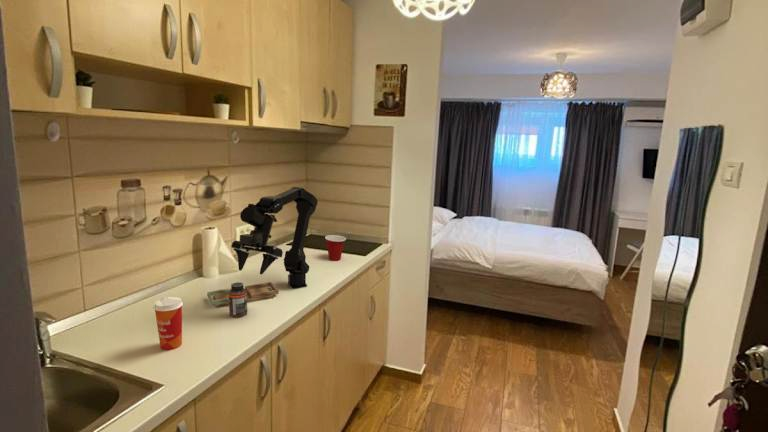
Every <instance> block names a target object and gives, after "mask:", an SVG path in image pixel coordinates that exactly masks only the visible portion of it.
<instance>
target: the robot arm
mask: <svg viewBox="0 0 768 432" xmlns="http://www.w3.org/2000/svg"><path fill="white" fill-rule="evenodd" d="M291 202H294V203H295V204H296V206H295V208H296V212H297V213H298V214H297V220H296V224H295V229H294V235H293V239H292V242H291V243H292V245H291V248H290V249H289V250H286V251H285V252H283V249H281V248H279V247H277V246H273V245H268V241H269V239H272V235H271V230H272V227H273V223H278V220H277V218H276V215H277V214H278V213H280V212H281V211H282V210H283V208H284V206H285V205H287V204H289V203H291ZM317 206H318V199H317V197H316V196H315V195H314V194H312V193H310V192H309V191H307V190H306V189H305V188H304V187H300V186H292V187H291V188H289V189H288V190H285V191H283V192H281V193H278V194H276V195H268V196H262V197H260V199H259V201H258V202H257V203H256V204H254V203H248V205H247V206H246V207H244V208H243V210H242V211H241V212H240V220H241V221H242V222H244V223H246V224H248V225H250V226H252V227H254V229H251V230H250V232H249V233H246V234H239V240H233V241H232V243H231V244H230V245H231V246H230V247H231V248H232V249H233V251H235V253H236V254H237V263H238V266H237V267H238V271H243V269H244V266H245V264H246V262H247V259H248V257H249V255H250V253H249V251H253V252H259V253H262V263H261V266H260V269H259V274H260V275H263V274H264V273H265V272H266V271H267V270H268V268H269V267H270V266H271V265H272V264H273V262H274V263H275V261H276V260H278V259H279V258H282V257H283V253H284V258H283V266H284V269H285V272H288V275H287V285H288V286H289V287H290V288H292V289H299V288H304V287H307V286H308V285H307V283H306V279H307V278H306V277H307V275H306V274H308V272H309V271H310V265H309V264H308V263H307V262H306V258H307V256H306V254H305V242H306V240H307V239H306V238H307V234H308V228H309V223H310V218H311V216H312V215H313V214H314V212H315V211H316V209H317ZM275 214H276V215H275Z"/></svg>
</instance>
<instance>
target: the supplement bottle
mask: <svg viewBox="0 0 768 432" xmlns="http://www.w3.org/2000/svg"><path fill="white" fill-rule="evenodd" d="M230 288H231V290H230V291H229V306H228V308H229V309H228V311H229V316H230V317H233V318H241V317H244V316H246V315H247V314H248V303H247V291H246V289H245V286H244V283H243V282H238V281H237V282H233V283H231V286H230Z"/></svg>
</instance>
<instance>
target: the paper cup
mask: <svg viewBox="0 0 768 432" xmlns="http://www.w3.org/2000/svg"><path fill="white" fill-rule="evenodd" d="M183 305H184V303H183V301H182V299H181V298H180V297H178V296H177V297H176V296H169V297H165V298H161V299H160V300H159V299H157V300H156V301H155V303H154V306H153V310H154V312H155V320H156V321H155V322H156V325H157V332H158V339H159V340H158V341H159V346H160V349H161V350H164V351H171V350H176V349H178V348H180V347H181V346H182V343H183V341H182V340H183V313H182V312H183Z"/></svg>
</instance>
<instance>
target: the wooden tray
mask: <svg viewBox="0 0 768 432" xmlns="http://www.w3.org/2000/svg"><path fill="white" fill-rule="evenodd" d="M267 287H269V288H270V289H271V290H270V289H268V288H267ZM244 289H246V291H247V304H248V303H252V302H257V301H265V300H270V299H273V298H274V296H275V295H276V296H277V295H279V289H278V288H277V287H276V286H275V285H274V283H273V282H272V281H267V282H263V283H255V284H249V285H245V286H244ZM230 290H231V287H229V288H224V289H223V288H222V289H216V290H210V291H206V292H207V294H206V296H207V298H208V301H209V302H210V305H211V306H218V308H224V307H229V291H230Z"/></svg>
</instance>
